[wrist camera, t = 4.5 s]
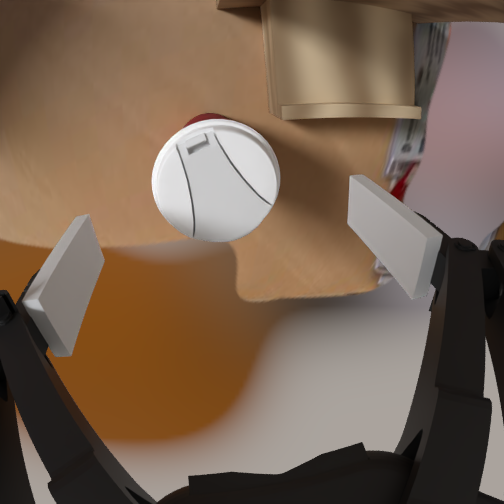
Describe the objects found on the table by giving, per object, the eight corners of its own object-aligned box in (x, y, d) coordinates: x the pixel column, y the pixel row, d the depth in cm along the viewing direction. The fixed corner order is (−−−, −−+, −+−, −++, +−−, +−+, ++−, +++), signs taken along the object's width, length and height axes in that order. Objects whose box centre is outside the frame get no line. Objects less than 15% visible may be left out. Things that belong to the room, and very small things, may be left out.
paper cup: (156, 122, 27) (124, 159, 16) (231, 89, 27) (259, 100, 15) (189, 191, 31) (186, 269, 20) (260, 161, 31) (302, 223, 19)
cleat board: (227, 116, 28) (276, 186, 11) (215, -6, 21) (248, -119, 5) (420, 112, 30) (563, 173, 13) (417, 11, 23) (568, 12, 7)
